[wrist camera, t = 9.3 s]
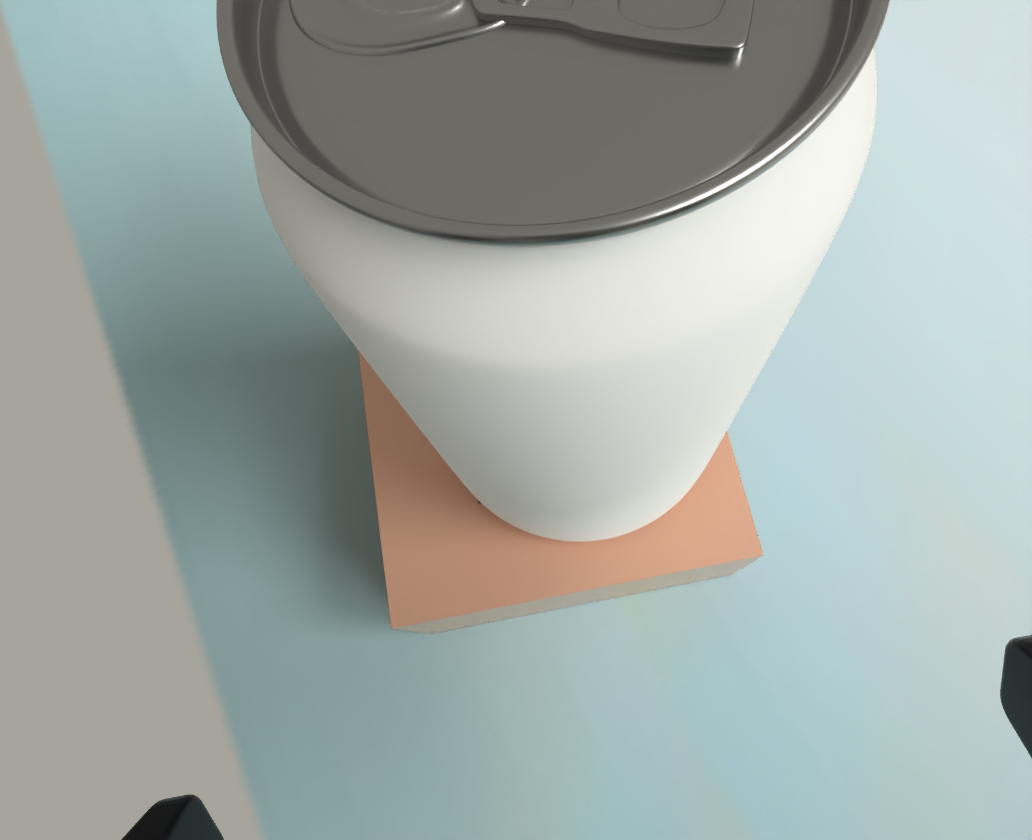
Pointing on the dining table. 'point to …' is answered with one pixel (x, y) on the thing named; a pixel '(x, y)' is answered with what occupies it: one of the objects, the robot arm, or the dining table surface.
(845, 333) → the dining table surface
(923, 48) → the dining table surface
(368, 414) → the peach block
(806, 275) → the can
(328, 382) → the dining table surface
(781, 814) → the dining table surface
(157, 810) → the robot arm
